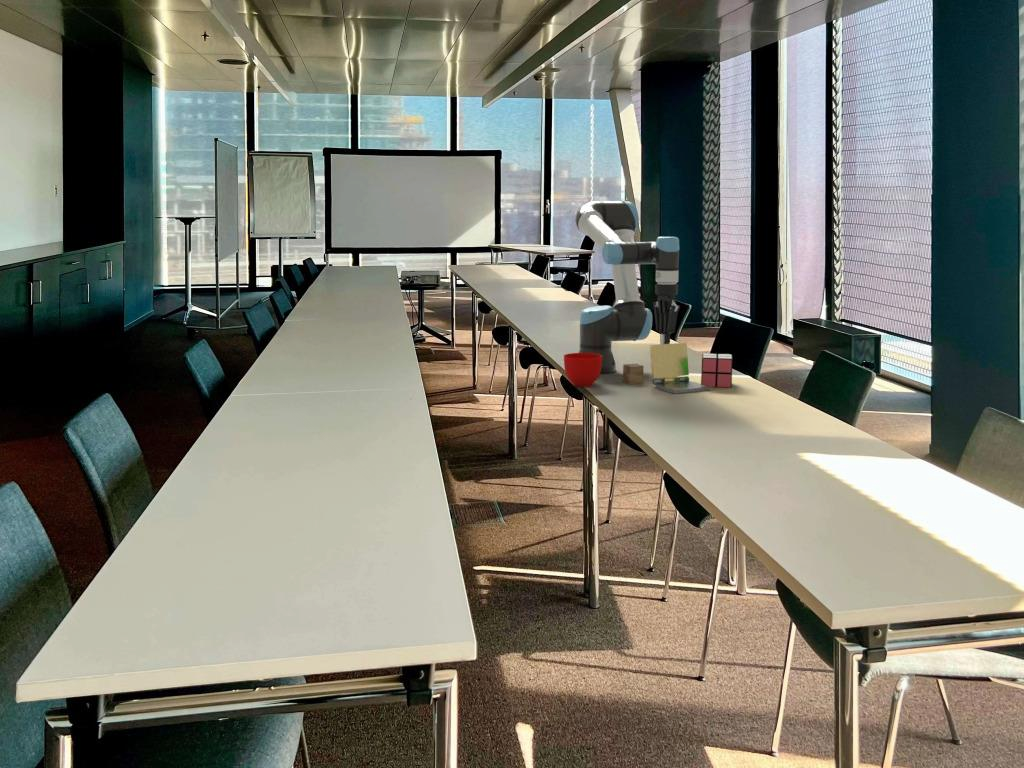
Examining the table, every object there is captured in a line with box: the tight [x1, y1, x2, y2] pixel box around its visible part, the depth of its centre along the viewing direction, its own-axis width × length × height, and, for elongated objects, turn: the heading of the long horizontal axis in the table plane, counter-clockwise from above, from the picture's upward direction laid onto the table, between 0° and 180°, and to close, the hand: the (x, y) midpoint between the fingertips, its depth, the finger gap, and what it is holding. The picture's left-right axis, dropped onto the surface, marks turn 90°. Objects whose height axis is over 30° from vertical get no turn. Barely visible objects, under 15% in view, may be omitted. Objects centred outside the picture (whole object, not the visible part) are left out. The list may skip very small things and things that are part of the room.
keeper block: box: [622, 363, 645, 385], centre depth 330 cm, size 5×5×6 cm
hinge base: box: [651, 375, 711, 395], centre depth 319 cm, size 14×13×3 cm
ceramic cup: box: [563, 352, 602, 388], centre depth 326 cm, size 13×17×10 cm
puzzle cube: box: [700, 353, 733, 389], centre depth 325 cm, size 10×10×10 cm
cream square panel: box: [649, 342, 690, 383], centre depth 323 cm, size 14×13×2 cm
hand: (664, 352), depth 326 cm, fingers closed
